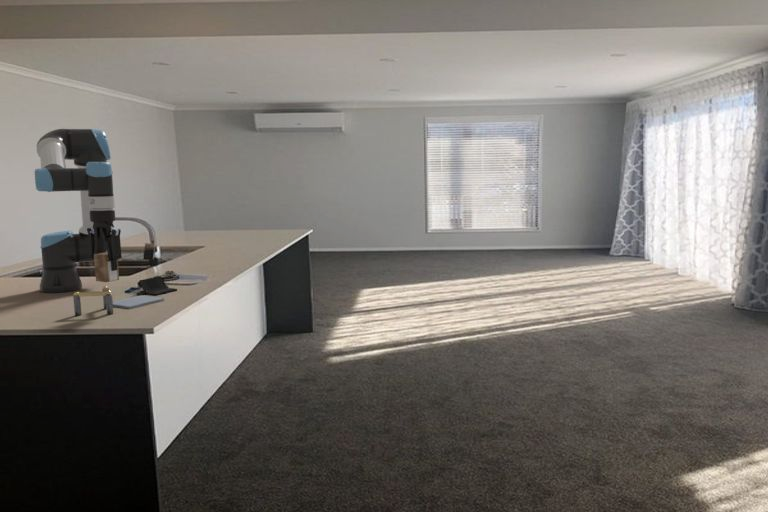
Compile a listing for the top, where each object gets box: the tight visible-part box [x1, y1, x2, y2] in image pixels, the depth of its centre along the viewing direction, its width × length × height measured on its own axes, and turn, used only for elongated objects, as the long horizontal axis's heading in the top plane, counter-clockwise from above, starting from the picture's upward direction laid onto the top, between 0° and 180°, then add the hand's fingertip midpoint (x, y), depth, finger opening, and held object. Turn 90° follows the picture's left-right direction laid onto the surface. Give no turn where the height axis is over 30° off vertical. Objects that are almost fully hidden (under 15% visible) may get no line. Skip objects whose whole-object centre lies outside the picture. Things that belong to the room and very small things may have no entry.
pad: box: [113, 295, 165, 310], centre depth 215 cm, size 12×15×1 cm
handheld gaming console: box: [138, 275, 178, 297], centre depth 234 cm, size 12×7×10 cm
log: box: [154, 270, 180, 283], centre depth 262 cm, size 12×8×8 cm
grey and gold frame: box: [72, 285, 114, 317], centre depth 200 cm, size 10×13×8 cm
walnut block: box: [93, 252, 120, 283], centre depth 197 cm, size 5×5×9 cm
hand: (107, 279), depth 197 cm, fingers closed on walnut block, 5 cm apart
